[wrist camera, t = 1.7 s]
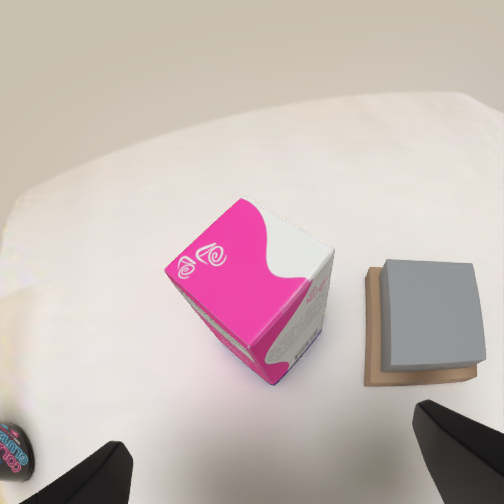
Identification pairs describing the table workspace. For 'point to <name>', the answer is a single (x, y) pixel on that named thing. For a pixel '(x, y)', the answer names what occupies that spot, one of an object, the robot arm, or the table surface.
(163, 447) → the table surface
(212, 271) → the supplement box
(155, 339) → the table surface
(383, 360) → the tower top
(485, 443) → the robot arm
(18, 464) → the supplement container
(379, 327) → the tower base
